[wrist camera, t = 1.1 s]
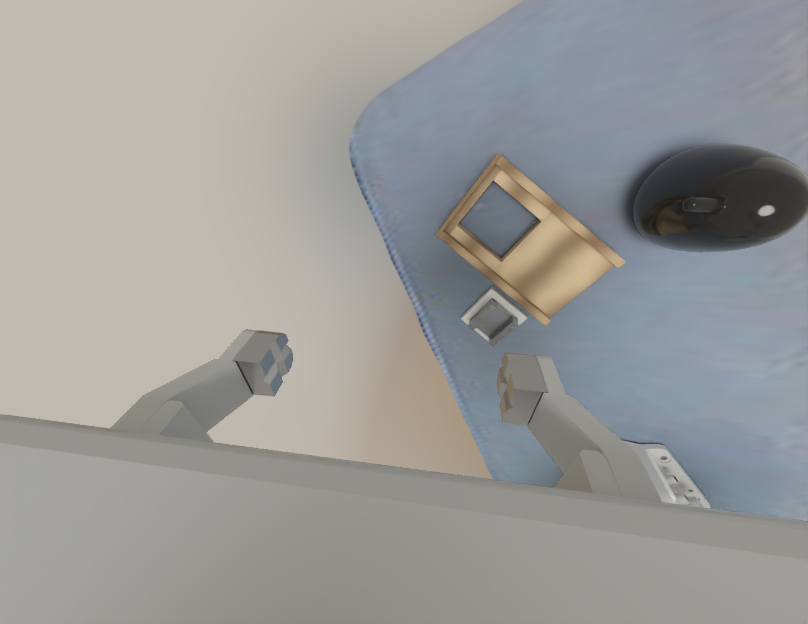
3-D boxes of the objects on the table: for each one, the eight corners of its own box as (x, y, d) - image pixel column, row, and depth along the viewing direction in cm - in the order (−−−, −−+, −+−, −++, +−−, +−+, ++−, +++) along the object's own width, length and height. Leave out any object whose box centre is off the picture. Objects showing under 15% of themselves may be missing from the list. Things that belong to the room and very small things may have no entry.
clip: (517, 318, 44) (518, 325, 42) (493, 338, 47) (493, 346, 44) (492, 297, 44) (491, 304, 42) (470, 319, 46) (468, 326, 44)
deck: (615, 254, 38) (628, 263, 34) (542, 314, 44) (546, 328, 40) (498, 154, 37) (498, 152, 33) (440, 230, 43) (434, 235, 39)
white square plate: (527, 314, 45) (527, 318, 44) (494, 342, 48) (494, 346, 47) (492, 286, 44) (492, 288, 43) (461, 315, 48) (461, 319, 47)
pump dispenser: (639, 144, 33) (732, 125, 20) (753, 149, 30) (944, 131, 17) (606, 235, 37) (663, 269, 24) (703, 246, 35) (824, 290, 22)
